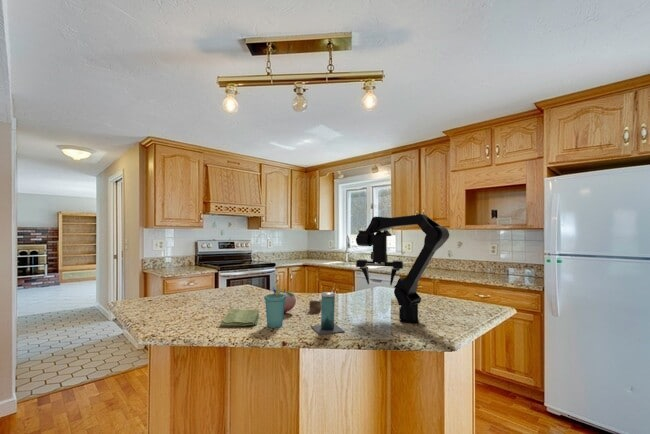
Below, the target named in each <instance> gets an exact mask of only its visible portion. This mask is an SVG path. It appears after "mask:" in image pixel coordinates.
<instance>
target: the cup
mask: <svg viewBox="0 0 650 434" xmlns="http://www.w3.org/2000/svg"><path fill="white" fill-rule="evenodd" d="M272 289H273V293H272V294H270V293H268V294H265V296H264V295H263V296H264V300H265V313H266V314H265V315H266V326H267V327H268V328H269V327H271V329H277V328H276V327H278V328H281V327H283V320H284V314H285V313H284V303H285V299H286V296H285V295H283V294H280V291H281V287H280V285H279V284H278V283H277V284H276V285H275V286H273V288H272Z"/></svg>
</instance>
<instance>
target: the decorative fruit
mask: <svg viewBox="0 0 650 434" xmlns="http://www.w3.org/2000/svg"><path fill="white" fill-rule="evenodd" d="M280 294H283V295H285V296H286V299H285V303H284V313H283V314H286V313H288V312H289V311H291V310H292V309H293V308H294V307H295V305H296V303H297V298H296V295H295V294H294V292H292V291H286V288H284V290H280Z"/></svg>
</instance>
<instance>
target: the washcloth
mask: <svg viewBox="0 0 650 434" xmlns="http://www.w3.org/2000/svg"><path fill="white" fill-rule="evenodd" d="M259 312H260V311H259V309H256V308H255V309H253V308H252V309H248V308H246V309H239V308H233V309H232V308H230V309H229V310H228V312H227V313H226V315H225V316H224V317H223V318H222V320H221V322H220V324H219V326H220V327H222V328H232V327H237V328H238V327H253V326H254V327H256V326H258V323H259V317H260V313H259ZM255 325H256V326H255Z"/></svg>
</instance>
